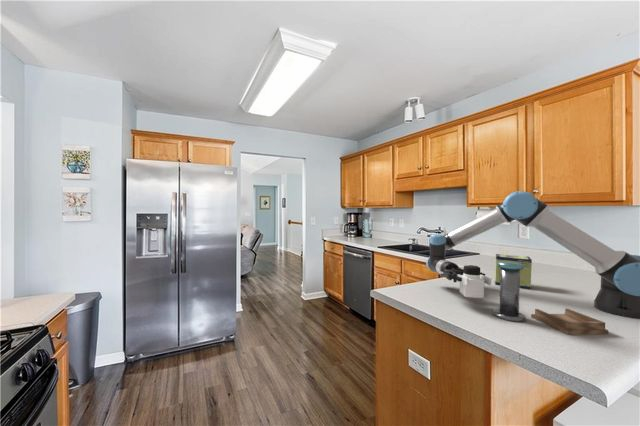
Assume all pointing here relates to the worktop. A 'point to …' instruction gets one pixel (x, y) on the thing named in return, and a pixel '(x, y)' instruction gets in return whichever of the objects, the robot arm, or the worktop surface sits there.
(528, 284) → the protein box
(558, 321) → the notched board
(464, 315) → the worktop surface
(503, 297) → the bobbin post
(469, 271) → the medicine bottle
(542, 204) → the robot arm
